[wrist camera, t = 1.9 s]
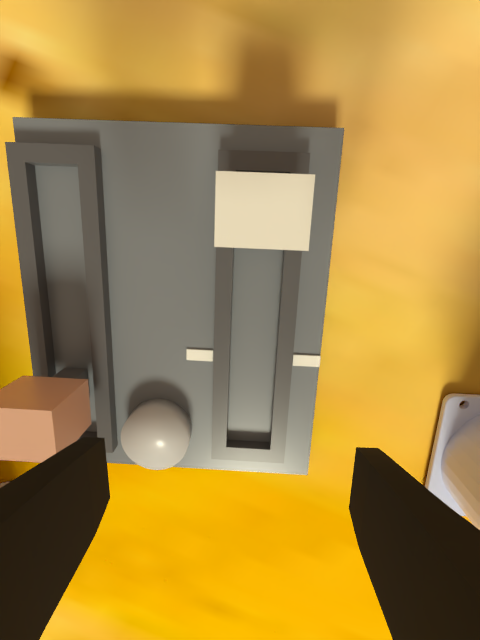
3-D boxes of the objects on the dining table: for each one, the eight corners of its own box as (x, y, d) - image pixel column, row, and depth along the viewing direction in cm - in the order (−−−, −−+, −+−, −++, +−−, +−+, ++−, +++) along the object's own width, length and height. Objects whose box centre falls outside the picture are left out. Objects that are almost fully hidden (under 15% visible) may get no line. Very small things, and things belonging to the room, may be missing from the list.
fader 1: (105, 364, 18) (51, 410, 13) (107, 404, 19) (57, 463, 14) (46, 361, 18) (-28, 406, 13) (50, 401, 19) (-19, 458, 14)
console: (336, 137, 16) (352, 118, 14) (303, 458, 21) (310, 490, 18) (33, 127, 17) (-8, 107, 14) (65, 443, 21) (38, 473, 18)
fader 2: (296, 193, 15) (315, 174, 11) (292, 246, 16) (308, 250, 11) (227, 190, 16) (215, 170, 11) (225, 243, 16) (214, 246, 11)
